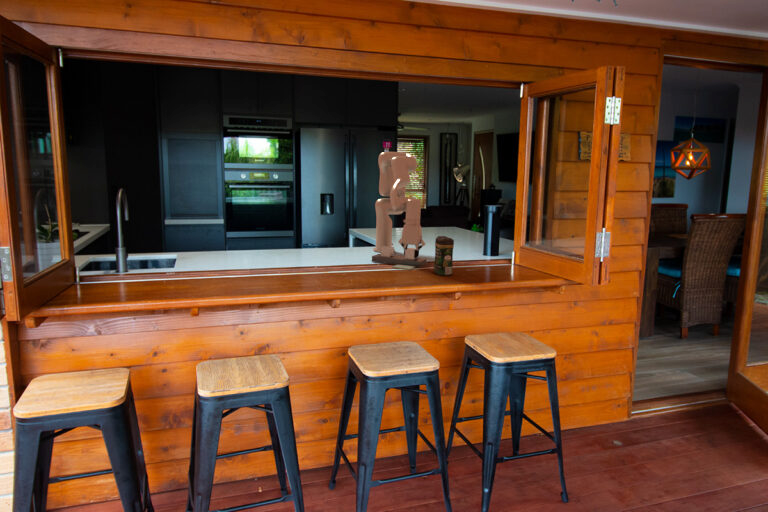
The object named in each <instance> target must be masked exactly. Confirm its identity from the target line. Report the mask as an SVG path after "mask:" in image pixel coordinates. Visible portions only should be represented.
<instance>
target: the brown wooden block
mask: <svg viewBox="0 0 768 512" xmlns="http://www.w3.org/2000/svg"><path fill="white" fill-rule="evenodd" d="M380 254H381V257H388V258H391V257H394V254H395V247H394V246H392V247H389V246H384V247H381V252H380Z"/></svg>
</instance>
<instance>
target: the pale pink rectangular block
mask: <svg viewBox="0 0 768 512" xmlns="http://www.w3.org/2000/svg"><path fill="white" fill-rule="evenodd" d="M415 250H416V247H415V248H414V247H413V248H412V247H407V249H405V255H404V257H405V260H414V261H415V260H417V259H418V258H419V256H418V257H417V258H415Z"/></svg>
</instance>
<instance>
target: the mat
mask: <svg viewBox="0 0 768 512" xmlns="http://www.w3.org/2000/svg"><path fill="white" fill-rule="evenodd" d="M391 268H392V269H398V270H406V271H411V270H414V269H416V267H414V266H405V265H396V264H394V265H393V266H391Z"/></svg>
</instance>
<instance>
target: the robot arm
mask: <svg viewBox="0 0 768 512" xmlns="http://www.w3.org/2000/svg"><path fill="white" fill-rule="evenodd" d="M377 161H378V167H379V185H378V192H379V195H380V196H382V198H379V199H377V200H376V201H375V206H374V207H375V215H376V222H375V223H376V225H375V226H376V227H375V229H376V230H375V247H373V249H372V250H373V252H377V253H381V247H384V246H389V247H394V246H393V245H394V243H393V241H392V240H393V220H392V218H391V216H389V215H402V214H403V213H404V212H405V219H403V223H404V225H403V228H402V231H401V232H402V234H401V238H400V239H399V240H398V244H400V245H401V247H402V249H403V255H404V256H405V249H407V248H409V247H408V246H409V245H412V246H413V245H414V246H415V249H416V250H415V258H417V257H418V258H419V255H420V250H421V248H423V247H425V246H426V242H425V241H424V240H423V232H422V231H423V230H422V226H421V209H422V208H421V207H422V201H421V199H418V198H416V197H413V196H412V197H406V194H407V193H406V192H407V189H406V186H408V185H409V184H410V183H411V177H410V173H411V172H412V173H413V172H416V170H417V169H418V162H417V161H418V160H417V159H416V158H415V156H414V155H411V154H410V153H408V152H401V151H384V152H381V153H380V154H379V155H378V160H377ZM383 197H384V198H383ZM385 197H386V198H385ZM388 197H389V198H388Z"/></svg>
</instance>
